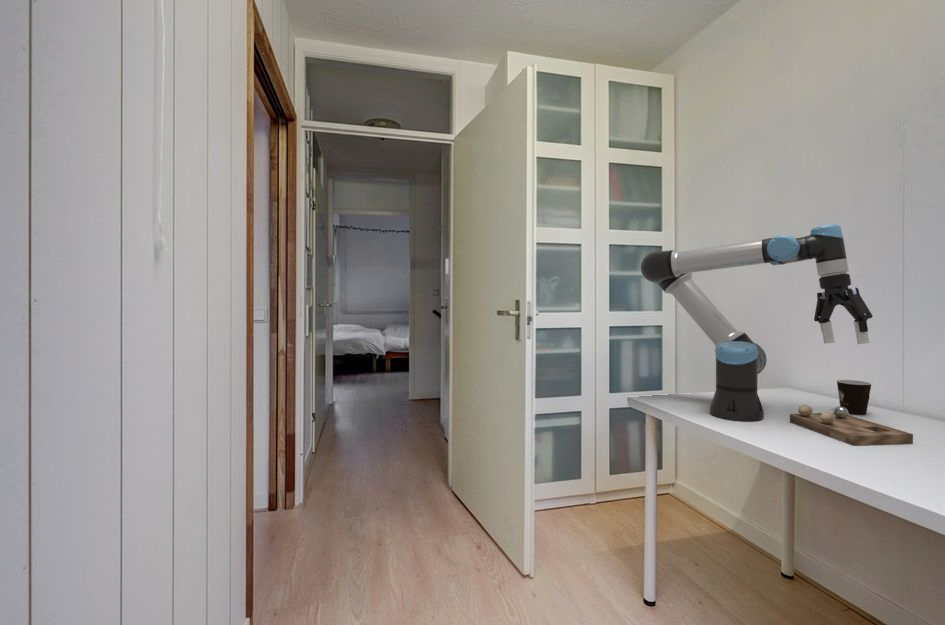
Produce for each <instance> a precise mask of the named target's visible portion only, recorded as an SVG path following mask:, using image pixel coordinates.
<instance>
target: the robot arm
mask: <svg viewBox="0 0 945 625" xmlns="http://www.w3.org/2000/svg"><path fill="white" fill-rule="evenodd" d="M813 259H815V260H814V261H815V263H816V264H815V266H816V271H817V276H819V279H818V282H819V287H820V289H821V290H823V291H822V292H817V294H816V297H817V299H816V300H817V301H816V307H815V312H814V318H813V320H814V322H818V323H819V324H820V330H821V333H822V338H823V343H824V344H833V343H835V338H834V337H835V336H834V332H833V331H834V330H833V325H832V322H831V320H830V319H831V317H832V314H833V313H834V311H835V307H836V306H839V305H840V306H842V307H844V308H845V309H846V311H847V312H848V313H849V315H850V316H852V317H853V319H854V320H853V325H854V331H855V336H856V343H857V345H863V344H870V340H869V333H868V332H869V328H868V323H867V321H868V320H870V319H872V318H873V316H874V315H873V314H872V312H871V311H870V309H869V307H868V306H867V304H866V302H865V301H864V299H863V297H862V296H861V295H860V289H859V288H858V287H850V288H849V286H851V285H852V281H851V274H849V273H848V272H849V266H848V260H847V253H846V246H845V239H844V236H843V231H842V226H841V225H839V224H838V223H837V224H836V223H829V224H825V225H821V226H816V227H813V228H811V230H810V234H809V235H805V236H801V237H797V238H796V237H794V236H792V235H788V234H780V235H777V236H774V237H770V238H765V239H764V238H762V239H756V240H750V241H742V242H736V243H729V244H723V245H722V244H721V245H717V246H710V247H704V248H698V249H691V250H684V251H678V250H677V249H670V250H660V251H659V250H656V251H652V252H650V253H647V255H645V256H644V257H643V259H642V261H641V262H640V271H641V275H642V276H643V278H644V279H646V280H647V281H648V282H651V283H654V284H657V285H658V286H659V287H660V288H661V289H662V291H663V292H664V293H665V294H670V295H672V296H673V297H674V299H676V301H677V302H678V303H679V304H680V306H682V308H683V309H684V310H685V312H686V313H687V314H688V315H689V316H690V318H691V319H692V320H693V321H694V322H695V323H696V324H697V326H698V327H699V329H701V330H702V331H703V333H704V334H705V335H706V336H707V337H708V338H709V340H710V341H711V342H712V344H714V347H715V348H714V352H715V391H714V393H713V396H712V399H711V402H710V404H709V414H710V413H711V415H712V416H714V415H715V416H714V417H716V418H720V417H721V419H723V420H724V419H725V420H731V421H737V422H738V421H739V422H740V421H741V422H757V421H762V420H764V418H765V410H764V408H763V405H762V402H761V400H760V396H759V394H758V379H759V378H758V376H759V374H760V373H762V372H763V371H764V369H765V368H766V365H767V354H766V352H765V350H764V349H763V348H762V346H760V344H758V343H756V342H754V341H753V340H752V339H751V338H750V337H749V335H748V334H747V333H746V332H744V331H739V330H737V329H736V328H735V327H734V326H733V325H732V323H730V320H728V319H727V317H725V315H723V313H722V312H721V311H720V310H719V308H718V307H716V305H715V304H714V303H713V302H712V301H711V299H710V298H709V297H708V296H707V295H706V294H705V293H704V292H703V291H702V289H701V288H700V287H699V286H698V285H697V284H696V283H695V282H694V280H693V279H692V278H693V273H698V272H706V271H714V270H721V269H730V268H737V267H738V268H739V267H744V266H752V265H762V264H770V265H771V266H780V265H783V266H784V265H785V264H791V263H797V262H803V261H807V260H813Z"/></svg>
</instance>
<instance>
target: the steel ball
mask: <svg viewBox="0 0 945 625" xmlns="http://www.w3.org/2000/svg"><path fill="white" fill-rule="evenodd" d="M833 413H834V414H835V416H837V417H838V418H846V417H847V416H848V415H850V414H849V412H848V410H847V409H846V408H844V407H841V406H840V405H839V406H837V407H835V408H834V409H833Z"/></svg>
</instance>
